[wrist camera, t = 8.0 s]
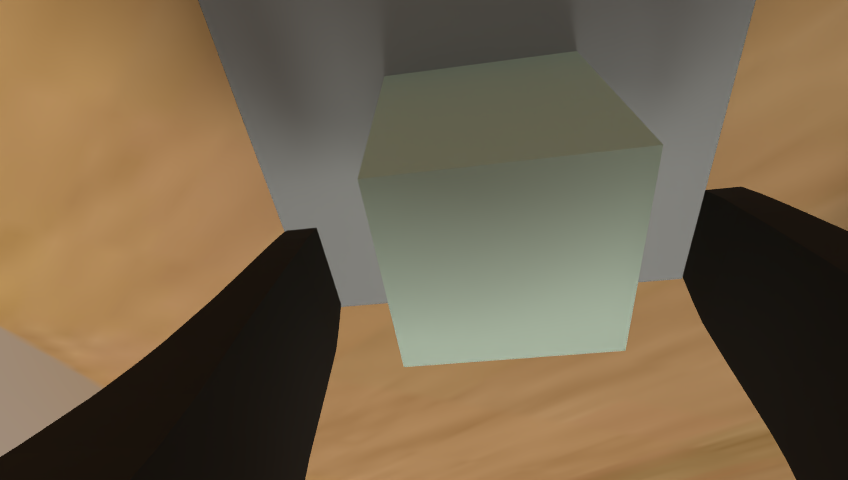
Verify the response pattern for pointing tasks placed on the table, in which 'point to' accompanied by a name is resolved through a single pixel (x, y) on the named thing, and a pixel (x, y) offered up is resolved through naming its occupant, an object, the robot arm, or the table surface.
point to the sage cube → (508, 209)
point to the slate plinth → (452, 47)
